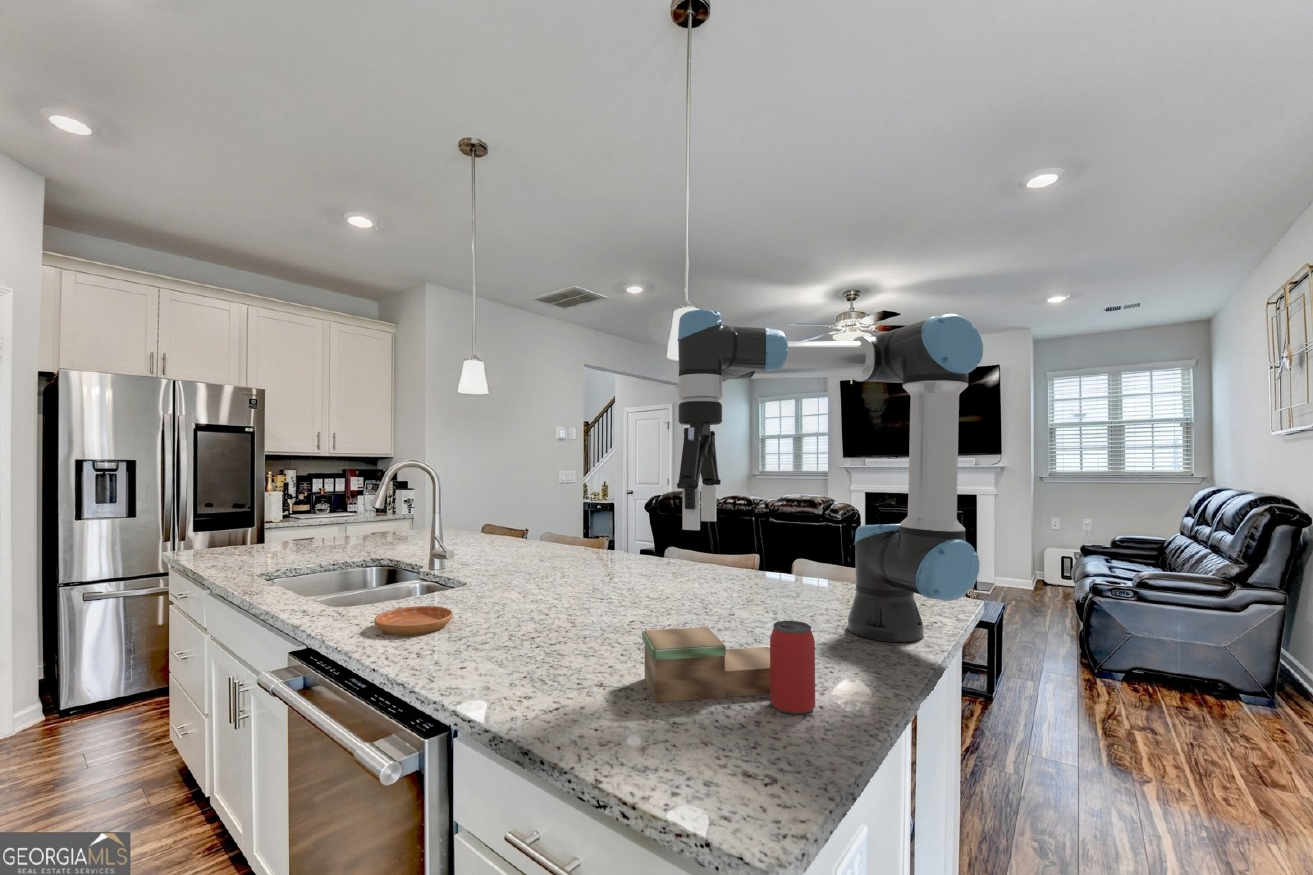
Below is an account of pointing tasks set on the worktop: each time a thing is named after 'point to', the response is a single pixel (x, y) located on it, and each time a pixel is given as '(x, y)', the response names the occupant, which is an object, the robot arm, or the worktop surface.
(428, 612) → the saucer
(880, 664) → the worktop surface
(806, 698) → the beer can
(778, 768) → the worktop surface
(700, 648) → the step stand
